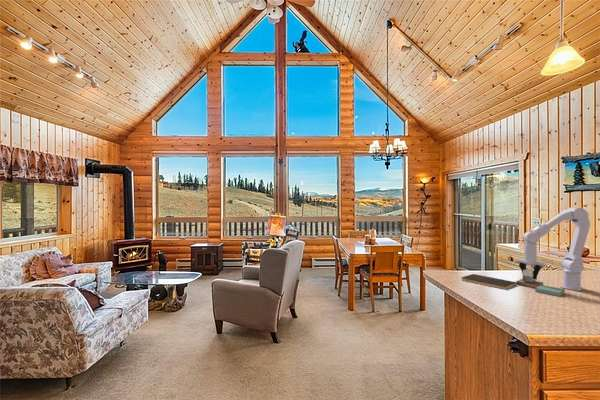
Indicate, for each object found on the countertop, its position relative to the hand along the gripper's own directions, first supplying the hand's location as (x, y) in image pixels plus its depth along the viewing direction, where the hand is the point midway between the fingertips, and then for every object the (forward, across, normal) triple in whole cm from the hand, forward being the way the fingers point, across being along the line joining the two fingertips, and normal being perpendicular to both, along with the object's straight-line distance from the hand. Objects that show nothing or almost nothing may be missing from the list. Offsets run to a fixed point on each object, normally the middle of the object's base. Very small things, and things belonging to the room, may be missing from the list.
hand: (529, 277), depth 179 cm
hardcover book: (+5, -16, -14) cm, 22 cm away
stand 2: (+4, +11, -8) cm, 14 cm away
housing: (+1, 0, 0) cm, 1 cm away
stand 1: (+4, 0, 0) cm, 4 cm away
